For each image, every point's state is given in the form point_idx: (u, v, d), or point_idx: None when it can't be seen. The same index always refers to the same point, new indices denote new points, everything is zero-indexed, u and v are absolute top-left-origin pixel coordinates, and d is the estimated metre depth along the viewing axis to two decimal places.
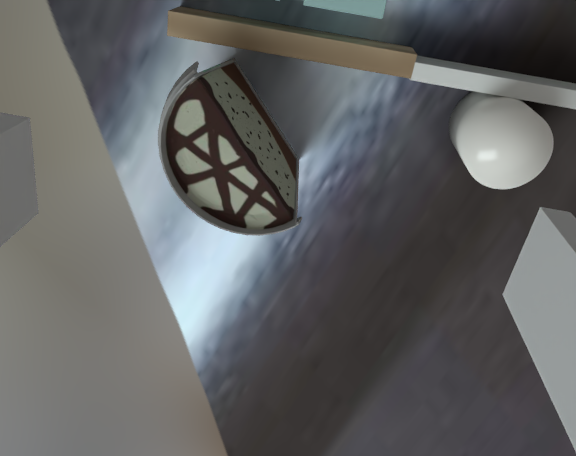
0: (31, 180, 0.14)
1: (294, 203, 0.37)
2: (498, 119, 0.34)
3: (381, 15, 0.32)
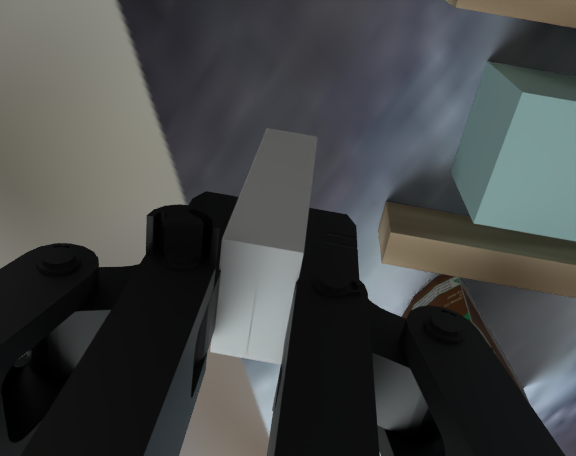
0: None
1: None
2: None
3: None
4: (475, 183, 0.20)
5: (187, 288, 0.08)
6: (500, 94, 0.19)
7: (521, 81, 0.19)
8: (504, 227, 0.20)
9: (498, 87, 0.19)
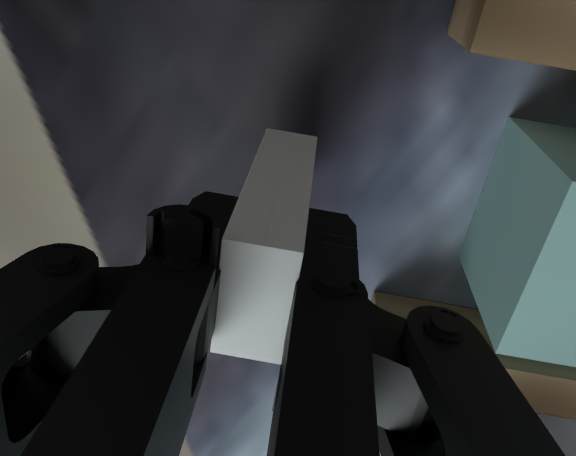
0: None
1: None
2: None
3: None
4: (497, 292, 0.14)
5: (187, 288, 0.08)
6: (532, 171, 0.13)
7: (564, 156, 0.13)
8: (539, 359, 0.14)
9: (530, 160, 0.14)
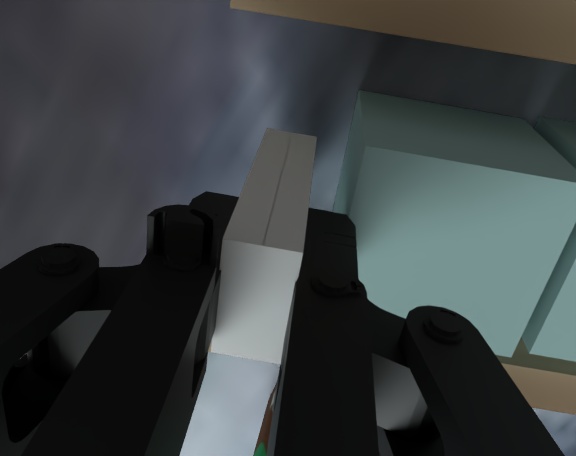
0: None
1: None
2: None
3: None
4: None
5: (187, 288, 0.08)
6: (357, 141, 0.13)
7: (382, 124, 0.13)
8: None
9: (357, 130, 0.14)
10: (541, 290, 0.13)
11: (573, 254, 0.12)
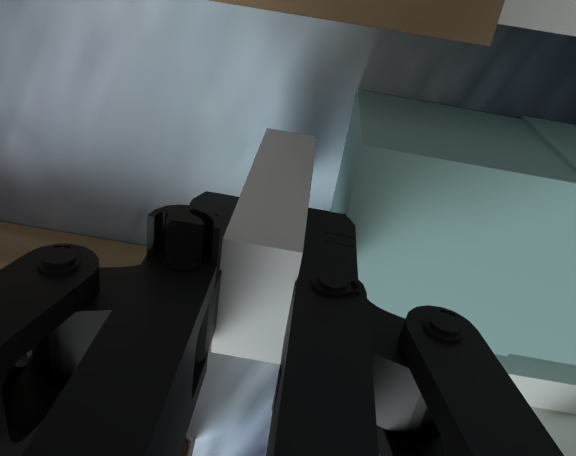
0: None
1: None
2: None
3: None
4: None
5: (187, 288, 0.08)
6: (355, 141, 0.13)
7: (380, 124, 0.13)
8: None
9: (356, 130, 0.14)
10: (539, 290, 0.13)
11: None
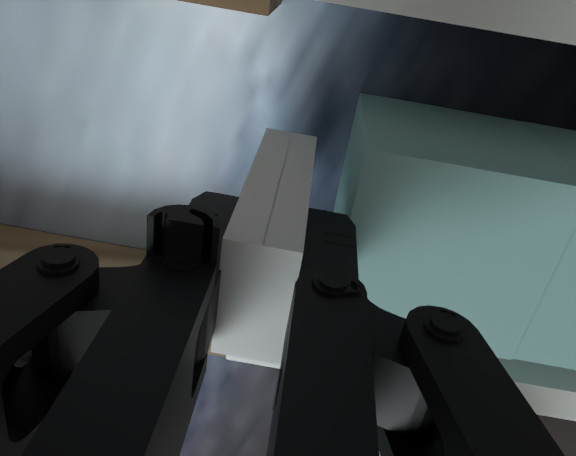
0: None
1: None
2: None
3: None
4: None
5: (187, 288, 0.08)
6: (358, 144, 0.13)
7: (383, 127, 0.13)
8: None
9: (359, 133, 0.14)
10: (542, 293, 0.13)
11: None
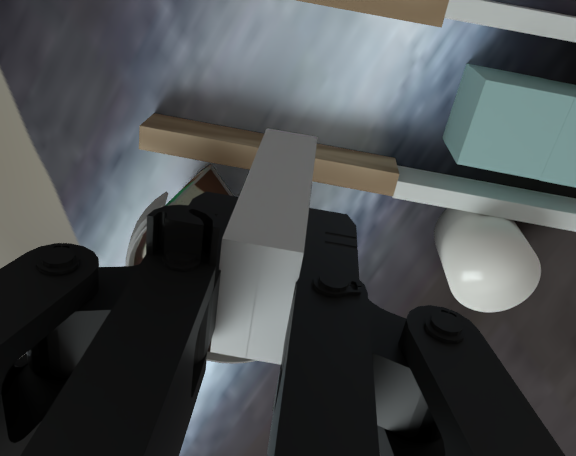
0: None
1: None
2: (483, 246, 0.32)
3: None
4: (458, 139, 0.32)
5: (187, 288, 0.08)
6: (474, 82, 0.31)
7: (486, 74, 0.30)
8: (476, 166, 0.31)
9: (473, 78, 0.31)
10: (553, 145, 0.30)
11: None
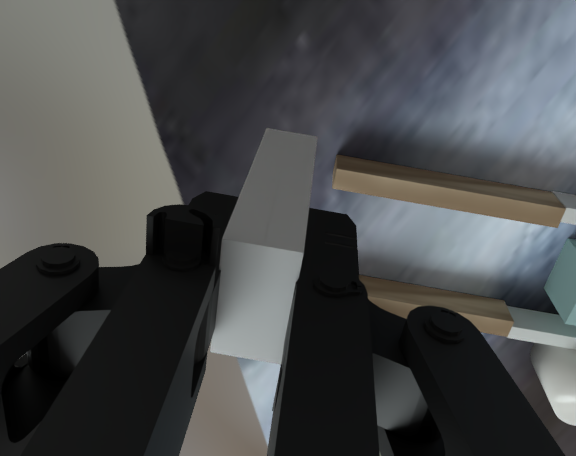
0: None
1: None
2: None
3: None
4: (564, 303, 0.41)
5: (187, 288, 0.08)
6: None
7: None
8: None
9: None
10: None
11: None
